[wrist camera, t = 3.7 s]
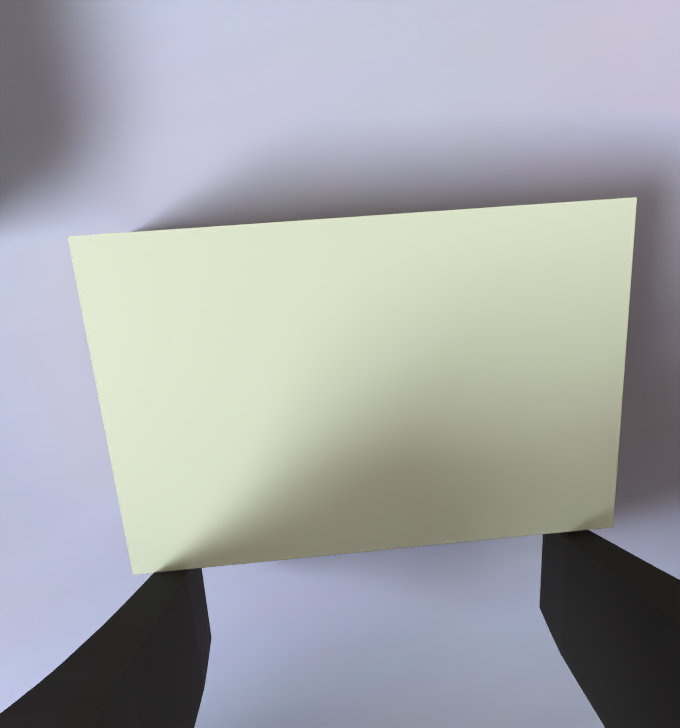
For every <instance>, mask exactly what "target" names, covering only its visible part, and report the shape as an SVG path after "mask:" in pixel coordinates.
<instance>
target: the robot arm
mask: <svg viewBox="0 0 680 728" xmlns="http://www.w3.org/2000/svg"><path fill="white" fill-rule="evenodd" d="M540 609H541V612H542V614H543V616H544V618H545V621H546V623H547V625H548V628H549V630H550V632H551V634H552V636H553V639H554V641H555V643H556V645H557V647H558V649H559V651H560V653H561V655H562V657H563V659H564V660H565V662H566V664H567V665H568V667H569V669H570V670H571V672H572V674H573V675H574V677H575V679H576V680H577V682H578V684H579V685H580V687H581V689H582V690H583V692H584V694H585V695H586V697H587V699H588V700H589V702H590V703H591V705H592V707H593V708H594V710H595V712H596V713H597V715H598V716H599V718H600V720H601V721H602V723H603V725H604V726H605V728H680V580H679V579H677V578H675V577H673V576H671V575H669V574H667V573H666V572H664V571H662V570H660V569H658V568H656V567H654V566H653V565H651V564H649V563H647V562H645V561H643V560H642V559H640V558H638V557H636V556H634V555H633V554H631V553H629V552H627V551H625V550H624V549H622V548H620V547H618V546H616V545H615V544H613V543H611V542H609V541H608V540H606V539H604V538H602V537H600V536H598V535H597V534H595V533H593V532H591V531H589V530H580V531H570V532H560V533H550V534H543V546H542V567H541V588H540ZM210 644H211V632H210V625H209V618H208V610H207V603H206V596H205V589H204V582H203V575H202V568H194V569H184V570H174V571H164V572H154V573H153V574H152V575H151V576H150V578H149V579H148V580H147V581H146V582H145V583H144V584H143V585H142V586H141V587H140V588H139V589H138V590H137V591H136V592H135V593H134V594H133V595H132V596H131V597H130V598H129V600H128V601H127V602H126V603H125V604H124V605H123V606H122V607H121V608H120V609H119V610H118V611H117V612H116V613H115V614H114V615H113V616H112V617H111V618H110V619H109V620H108V621H107V622H106V623H105V624H104V625H103V626H102V627H101V628H100V629H98V630H97V631H96V632H95V633H94V634H93V635H92V636H91V637H90V638H89V639H88V640H87V641H86V642H84V643H83V644H82V645H81V646H80V647H79V648H78V649H77V650H76V651H75V652H74V653H73V654H72V655H70V656H69V657H68V658H67V659H66V660H65V661H64V662H63V663H62V664H61V665H60V666H58V667H57V668H56V669H55V670H54V671H53V672H51V673H50V674H49V675H48V676H47V677H46V678H44V679H43V680H42V681H41V682H40V683H38V684H37V685H36V686H35V687H33V688H32V689H31V690H30V691H28V692H27V693H26V694H25V695H23V696H22V697H21V698H20V699H18V700H17V701H16V702H15V703H13V704H12V705H11V706H10V707H8V708H7V709H6V710H4V711H3V712H2V713H0V728H194V726H195V722H196V718H197V715H198V711H199V707H200V703H201V699H202V695H203V691H204V686H205V679H206V673H207V666H208V659H209V652H210Z"/></svg>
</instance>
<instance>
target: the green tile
mask: <svg viewBox="0 0 680 728" xmlns="http://www.w3.org/2000/svg"><path fill="white" fill-rule="evenodd" d="M636 204H637V197H633V198H618V199H604V200H589V201H575V202H560V203H546V204H532V205H517V206H503V207H488V208H474V209H459V210H445V211H430V212H416V213H401V214H387V215H372V216H358V217H343V218H329V219H314V220H300V221H285V222H271V223H257V224H242V225H228V226H213V227H199V228H184V229H170V230H155V231H141V232H126V233H112V234H97V235H83V236H68V242H69V248H70V253H71V258H72V263H73V268H74V273H75V279H76V284H77V289H78V294H79V299H80V304H81V310H82V315H83V320H84V325H85V330H86V335H87V340H88V346H89V351H90V356H91V361H92V366H93V371H94V377H95V382H96V387H97V392H98V397H99V402H100V408H101V413H102V418H103V423H104V428H105V433H106V439H107V444H108V449H109V454H110V459H111V464H112V470H113V475H114V480H115V485H116V490H117V495H118V500H119V506H120V511H121V516H122V521H123V526H124V531H125V537H126V542H127V547H128V552H129V557H130V562H131V568H132V573H133V575H134V574H144V573H154V572H164V571H174V570H184V569H194V568H205V567H215V566H225V565H235V564H245V563H255V562H265V561H276V560H286V559H296V558H306V557H316V556H326V555H336V554H347V553H357V552H367V551H377V550H387V549H397V548H407V547H418V546H428V545H438V544H448V543H458V542H468V541H479V540H489V539H499V538H509V537H519V536H529V535H539V534H550V533H560V532H570V531H580V530H590V529H600V528H610V527H613V520H614V506H615V493H616V479H617V465H618V451H619V438H620V424H621V410H622V396H623V383H624V369H625V355H626V341H627V328H628V314H629V300H630V286H631V273H632V259H633V245H634V232H635V218H636Z"/></svg>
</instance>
